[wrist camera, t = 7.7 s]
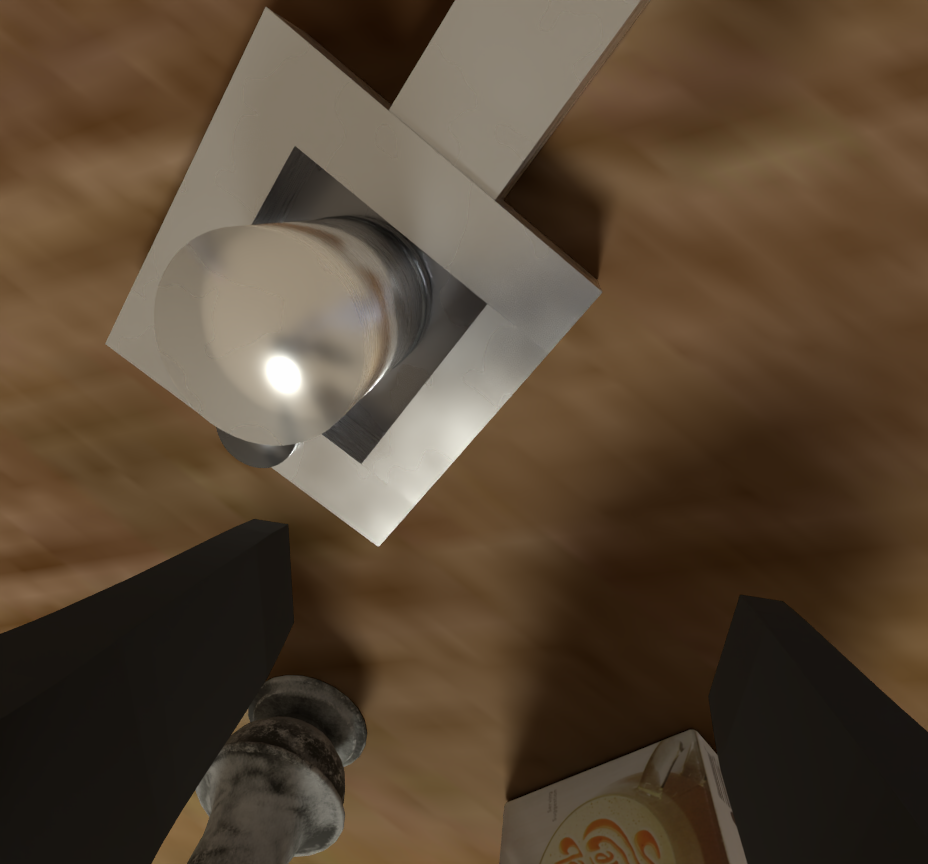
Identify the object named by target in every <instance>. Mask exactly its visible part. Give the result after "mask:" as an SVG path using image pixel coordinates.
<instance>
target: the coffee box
mask: <svg viewBox="0 0 928 864" xmlns="http://www.w3.org/2000/svg"><path fill="white" fill-rule="evenodd" d="M499 864H747V861H746V857H745V854H744V850H743V847H742V843H741V840H740V836H739V833H738V830H737V826H736V823H735V819H734V816H733V812H732V809H731V805H730V801H729V798H728V794H727V791H726V787H725V784H724V780H723V776H722V773H721V769H720V765H719V760H718V755H717V754H716V753H715V752H714V750H713V749H712V748H711V747H710V746H709V745H708V743H707V742H706V741H705V740H704V739H703V738H702V736H701V735H700V734H699V733H698V732H697V731H695V730H688V731H685V732H683V733H680V734H677V735H675V736H672V737H670V738H667V739H665V740H662V741H660V742H657V743H655V744H652V745H650V746H648V747H645V748H643V749H640V750H638V751H635V752H633V753H630V754H628V755H625V756H623V757H620V758H617V759H615V760H612V761H610V762H607V763H605V764H603V765H600V766H598V767H595V768H592V769H590V770H587V771H585V772H582V773H580V774H577V775H575V776H572V777H570V778H567V779H565V780H562V781H559V782H557V783H555V784H552V785H550V786H547V787H545V788H542V789H540V790H537V791H535V792H532V793H530V794H527V795H525V796H522V797H520V798H517V799H515V800H512V801H509V802H507V803H506V804H505V806H504V814H503V828H502V840H501V852H500V863H499Z"/></svg>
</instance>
